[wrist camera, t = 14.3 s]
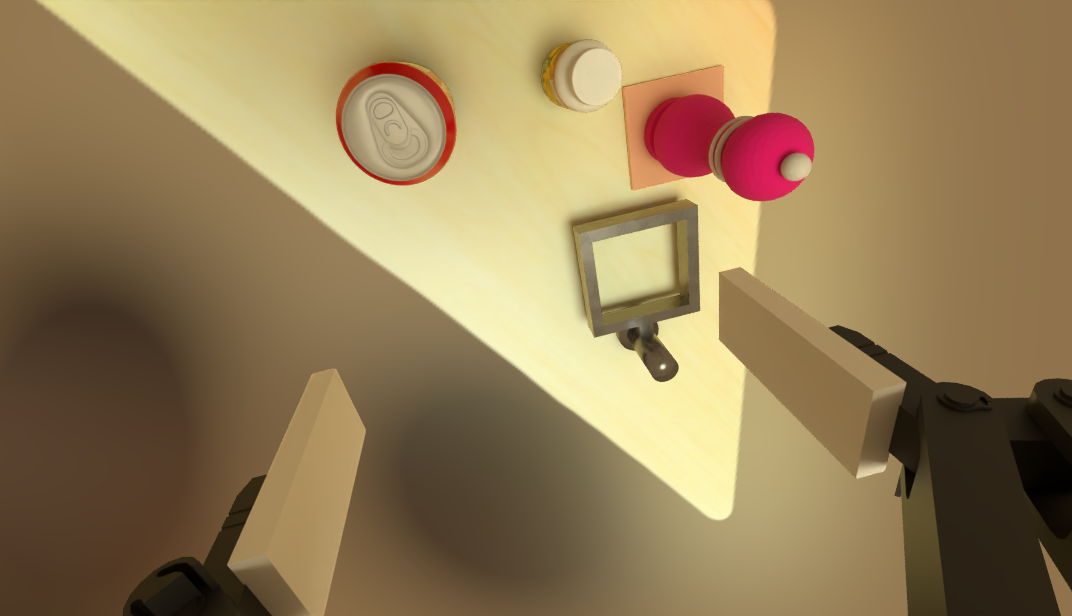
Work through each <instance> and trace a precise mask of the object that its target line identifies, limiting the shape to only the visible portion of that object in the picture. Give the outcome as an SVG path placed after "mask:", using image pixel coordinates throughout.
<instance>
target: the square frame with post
mask: <svg viewBox="0 0 1072 616" xmlns="http://www.w3.org/2000/svg"><path fill="white" fill-rule="evenodd" d="M674 222H677V241H678V263H679V285H680V295H677V296H673V297H669V298H665V299H661V300H657V301H653V302H649V303H645V304H641V305H637V306H633V307H629V308H625V309H621V310H617V311H613V312H609V313H605V314H602V312H601V304H600V297H599V290H598V283H597V276H596V268H595V261H594V254H593V247H592V242H595V241H599V240H603V239H607V238H612V237H616V236H620V235H624V234H628V233H632V232H636V231H641V230H645V229H649V228H653V227H657V226H661V225H665V224H670V223H674ZM573 231H574V237H575V243H576V250H577V256H578V262H579V269H580V275H581V282H582V288H583V294H584V301H585V307H586V313H587V320H588V326H589V328H590V330H591V332H592V334H593V336H594V338H595V337H599V336H603V335H607V334H611V333H615V332H617V337H618V339H619V341H620V342H621V344H622V345H623V346H624V347H625V348H626V349H629V350H635V351H636V352H637V354H638V355H639V357H640V358H641V360H642V361H643V363H644V364H645V366H646V367H647V369H648V370H649V372H650V373H651V375H652V377H653V378H654V379H655V380H656V381H659V382H665V381H668V380H670V379H672V378H673V377H674V376H675V375H676V374H677V372H678V369H679V366H678V363H677V362H676V360H675V359H674V358H673V357H672V355H671V354H670V353H669V351H668V350H667V349H666V347H665V346H664V345H663V343H662V342H661V341H660V340H659V338H658V337H657V335H658V324H657V322H658V321H662V320H666V319H670V318H674V317H678V316H682V315H686V314H690V313H694V312H698V311H700V290H699V246H698V205H696V204H694V203H693V202H691V201H689V200H687V199H685V200H681V201H677V202H672V203H668V204H664V205H660V206H656V207H651V208H647V209H643V210H639V211H635V212H631V213H626V214H622V215H618V216H614V217H610V218H605V219H601V220H597V221H593V222H589V223H584V224H580V225H576V226H573Z"/></svg>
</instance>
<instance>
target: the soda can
mask: <svg viewBox="0 0 1072 616" xmlns="http://www.w3.org/2000/svg"><path fill="white" fill-rule="evenodd" d="M336 125H337V131H338V135H339V138H340V141H341V143H342V145H343V148H344V149H345V151H346V153H347V154H348V156H349V157H350V159H351V160H352V161H353V162H354V163H355V164H356V165H357V166H358V167H359V168H360V169H361V170H362V171H363V172H365V173H366V174H368V175H369V176H371V177H373V178H374V179H377V180H379V181H381V182H384V183H388V184H392V185H413V184H417V183H420V182H423V181H425V180H428V179H429V178H431V177H433V176H434V175H435V174H437V173H438V172H439V171H440V170H441V169H442V168H443V167H444V166H445V164H446V163H447V161H448V160H449V158H450V156H451V154H452V151H453V149H454V145H455V140H456V118H455V110H454V104H453V100H452V97H451V95H450V93H449V91H448V89H447V87H446V85H445V84H444V83H443V81H442V80H441V79H440V78H439V77H438V76H437V75H436V74H435V73H433V72H432V71H430V70H429V69H427V68H425V67H423V66H421V65H418V64H414V63H408V62H392V61H388V62H380V63H375V64H372V65H369V66H367V67H365V68H363V69H361V70H360V71H358V72H357V73H355V74H354V75H353V76H352V77H351V78H350V79H349V80H348V82H347V83H346V84H345V86H344V88H343V89H342V91H341V94H340V96H339V99H338V103H337V109H336Z"/></svg>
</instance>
